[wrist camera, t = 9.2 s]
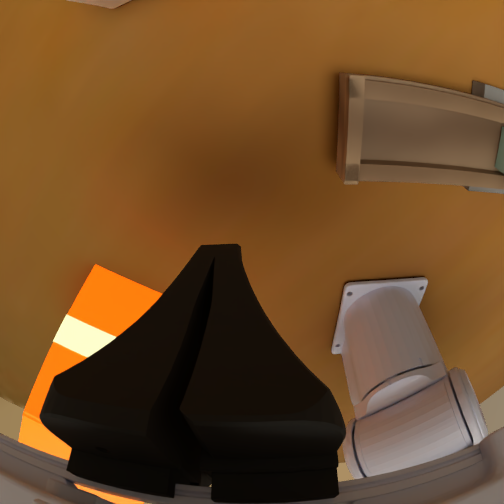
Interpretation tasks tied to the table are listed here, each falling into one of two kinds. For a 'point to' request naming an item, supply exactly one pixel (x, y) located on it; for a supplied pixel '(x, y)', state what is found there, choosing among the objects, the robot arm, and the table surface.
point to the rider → (500, 153)
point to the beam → (419, 133)
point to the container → (104, 2)
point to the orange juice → (84, 349)
